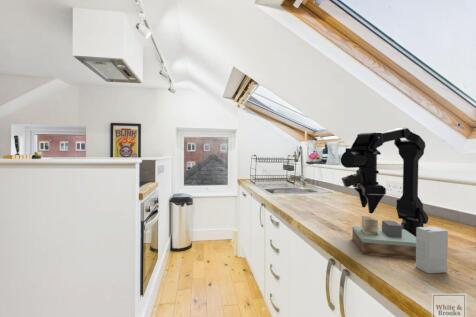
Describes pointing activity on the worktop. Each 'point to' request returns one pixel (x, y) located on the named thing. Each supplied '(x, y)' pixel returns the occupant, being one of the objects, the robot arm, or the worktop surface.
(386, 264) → the worktop surface
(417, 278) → the worktop surface
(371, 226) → the beige rectangular block
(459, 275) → the worktop surface
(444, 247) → the skincare box
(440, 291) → the worktop surface
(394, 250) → the toolbox base
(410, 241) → the toolbox lid
